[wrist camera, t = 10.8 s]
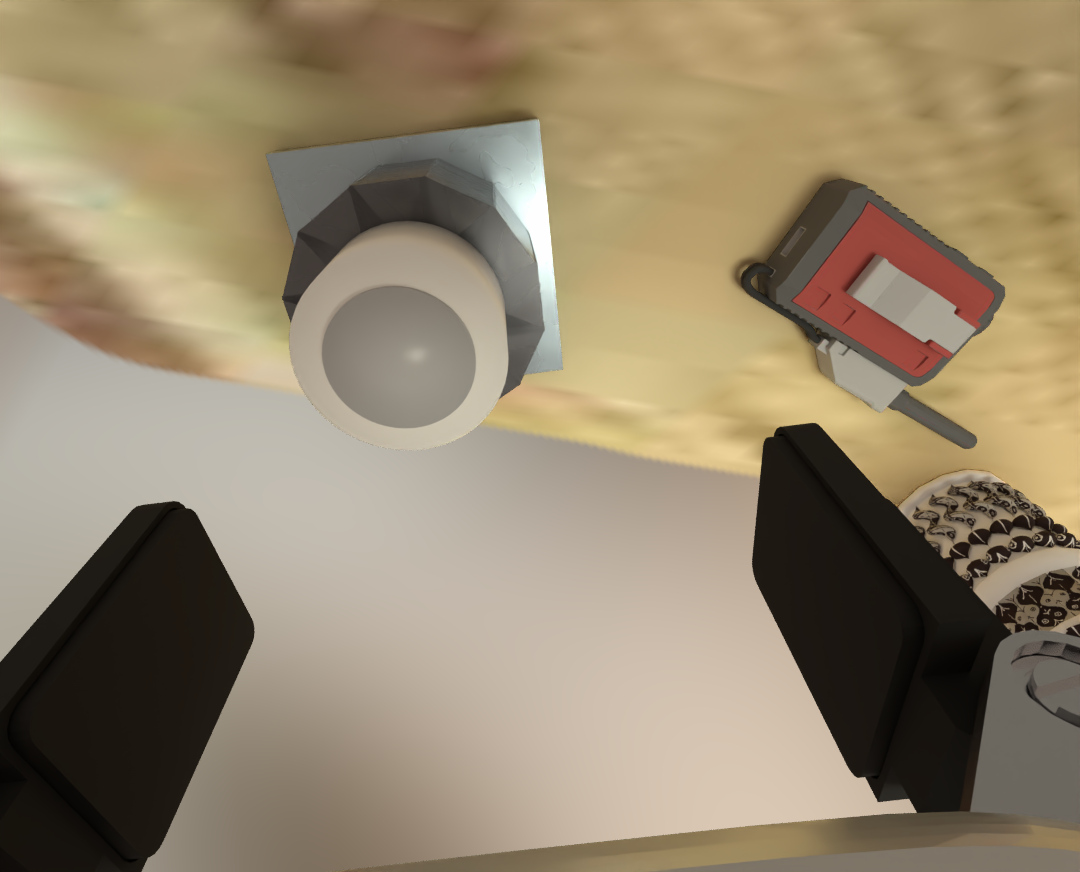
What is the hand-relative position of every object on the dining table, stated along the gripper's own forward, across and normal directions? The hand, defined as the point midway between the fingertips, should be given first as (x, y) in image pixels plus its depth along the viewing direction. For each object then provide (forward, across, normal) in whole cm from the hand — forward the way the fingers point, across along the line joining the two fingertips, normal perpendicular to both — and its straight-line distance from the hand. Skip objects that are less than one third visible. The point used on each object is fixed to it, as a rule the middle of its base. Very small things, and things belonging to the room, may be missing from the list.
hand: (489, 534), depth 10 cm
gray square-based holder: (+23, +4, +1) cm, 23 cm away
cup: (+18, +4, +1) cm, 19 cm away
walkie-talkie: (+24, -21, +8) cm, 33 cm away
